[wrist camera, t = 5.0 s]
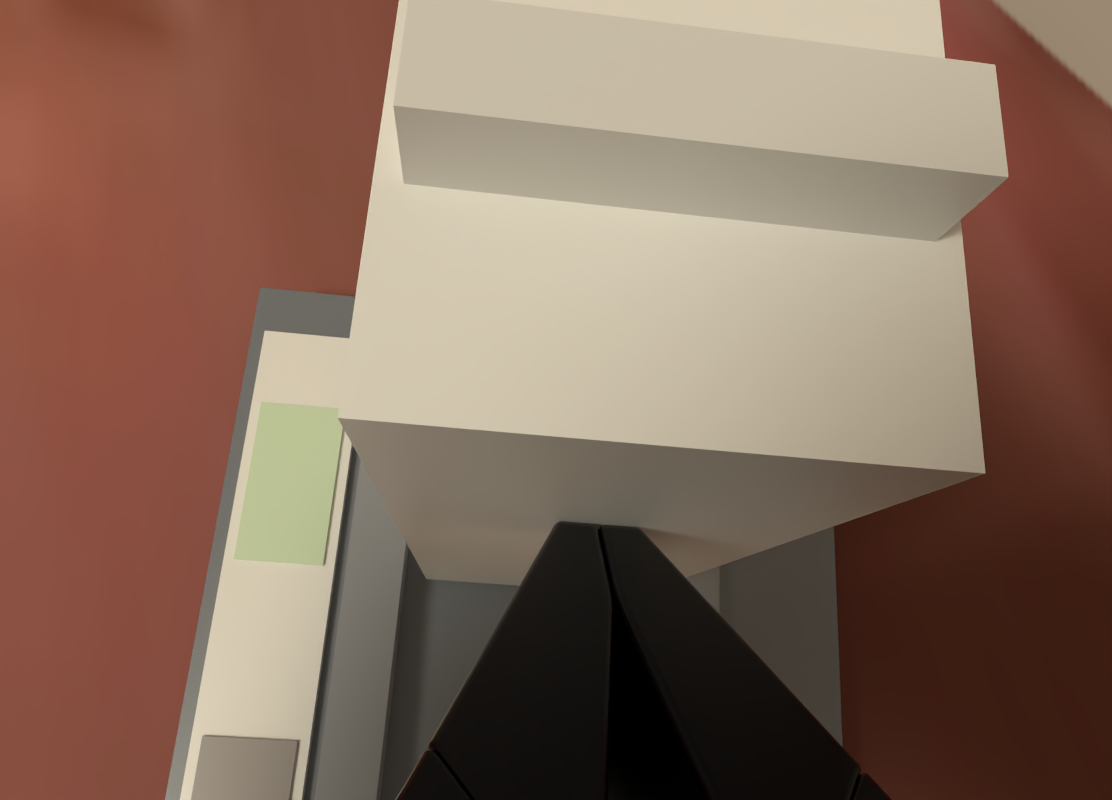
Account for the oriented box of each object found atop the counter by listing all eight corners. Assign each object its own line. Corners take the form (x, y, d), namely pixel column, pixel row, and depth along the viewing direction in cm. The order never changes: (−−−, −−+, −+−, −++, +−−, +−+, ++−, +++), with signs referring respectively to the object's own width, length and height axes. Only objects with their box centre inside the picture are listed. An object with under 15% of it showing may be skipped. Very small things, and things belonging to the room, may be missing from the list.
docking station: (820, 1085, 15) (881, 1159, 13) (142, 1069, 14) (82, 1147, 12) (799, 366, 19) (842, 329, 17) (276, 315, 18) (250, 270, 16)
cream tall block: (638, 594, 16) (1075, 441, 4) (426, 579, 15) (313, 373, 4) (644, 394, 17) (1000, -127, 6) (447, 376, 16) (407, -215, 5)
